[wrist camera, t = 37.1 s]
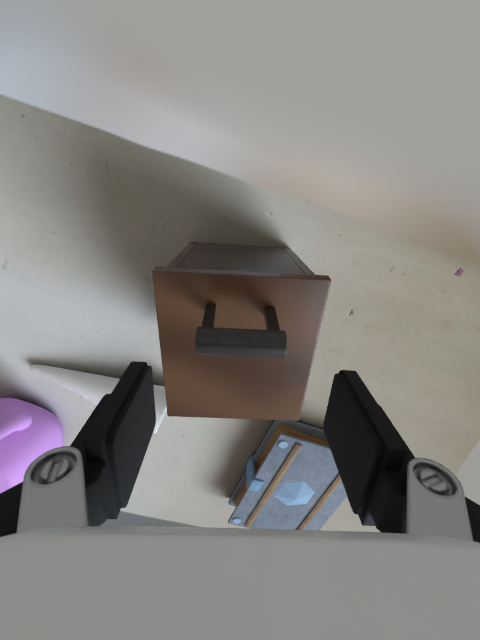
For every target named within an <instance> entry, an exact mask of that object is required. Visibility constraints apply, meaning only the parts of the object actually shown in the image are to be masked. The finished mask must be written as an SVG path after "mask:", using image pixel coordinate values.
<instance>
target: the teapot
mask: <svg viewBox="0 0 480 640" xmlns="http://www.w3.org/2000/svg"><path fill="white" fill-rule="evenodd" d="M58 447H63V430H62V425H61V423H60V421H59V419H58V418H57V417H56V416H55V415H54V414H52V413H51V412H49V411H47V410H45V409H43V408H41V407H39V406H36V405H34V404H31V403H28V402H26V401H22V400H19V399H14V398H0V493H2V492H4V491H6V490H8V489H10V488H12V487H14V486H15V485H17V484H19V483H21V482H23V479H24V474H25V472H26V469H27V468H28V466H29V465H30V464H31V463H32V462H33V461H34V460H35V459H36V458H37V457H38V456H40V455H42V454H43V453H45V452H47V451H49V450H51V449H54V448H58Z"/></svg>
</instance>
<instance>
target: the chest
mask: <svg viewBox="0 0 480 640" xmlns="http://www.w3.org/2000/svg"><path fill="white" fill-rule="evenodd" d="M166 268H185V269H205V270H225V271H245V272H265V273H285V274H304V275H315V274H314V273H313V272H312V271H311V270H310V269H309V268H308V267H307V266H306V265H305V264H304V263H303V262H302V260H301V259H300V258H299V257H298V256H297V255H296V254H295V253H294V252H293V251H292V250H291V249H290V248H289V247H271V246H252V245H233V244H214V243H195V242H190V243H189V245H188V246H187V247H186V248H185V249H184V250H183V251H182V252H181V253H180V254H179V255H178V256H177V257H176V258H175V259H174V260H173V261H172V262H171V263H170V264H169V265H168V266H167V267H166Z"/></svg>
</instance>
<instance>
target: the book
mask: <svg viewBox="0 0 480 640" xmlns="http://www.w3.org/2000/svg"><path fill="white" fill-rule="evenodd" d="M346 497H347V494H346V491H345V488H344V486H343V483H342V480H341V477H340V475H339V472H338V469H337V466H336V464H335V461H334V458H333V455H332V452H331V450H330V447H329V444H328V441H327V439H326V436H325V433H324V430H323V429H320V428H317V427H313V426H310V425H307V424H304V423H300V422H297V421H293V420H275V421H274V422H273V424H272V426H271V428H270V429H269V431H268V433H267V435H266V436H265V438H264V440H263V442H262V444H261V445H260V447H259V449H258V451H257V452H256V454H255V455H251V457H250V459H249V460H248V462H247V464H246V472H245V473H244V475H243V477H242V479H241V480H240V482H239V484H238V486H237V488H236V489H235V491H234V493H233V495H232V496H231V498H230V500H229V505H233V506H237V507H236V508H235V510H234V512H233V513H232V515H231V517H230V518H229V520H228V523H230V524H234V525H238V526H243V527H247V528H251V529H281V530H317V531H319V530H320V529H321V528H322V526H323V525H324V524H325V523H326V521H327V520H328V519H329V518H330V516H331V515H332V514H333V513H334V512H335V510H336V509H337V508H338V507H339V505H340V504H341V503H342V502H343V500H344V499H345V498H346Z"/></svg>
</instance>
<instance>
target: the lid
mask: <svg viewBox="0 0 480 640" xmlns="http://www.w3.org/2000/svg"><path fill="white" fill-rule="evenodd" d="M152 273H153V282H154V292H155V301H156V311H157V320H158V329H159V339H160V348H161V358H162V367H163V377H164V386H165V396H166V405H167V414H168V416H181V417H209V418H237V419H265V420H293V421H299V419H300V414H301V410H302V406H303V401H304V397H305V392H306V388H307V384H308V379H309V375H310V371H311V366H312V362H313V358H314V353H315V349H316V344H317V340H318V336H319V331H320V327H321V323H322V318H323V314H324V310H325V305H326V301H327V296H328V292H329V288H330V283H331V279H330V278H329V276H324V275H304V274H285V273H265V272H245V271H225V270H205V269H185V268H165V267H155V268H154V270H153V271H152Z"/></svg>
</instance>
